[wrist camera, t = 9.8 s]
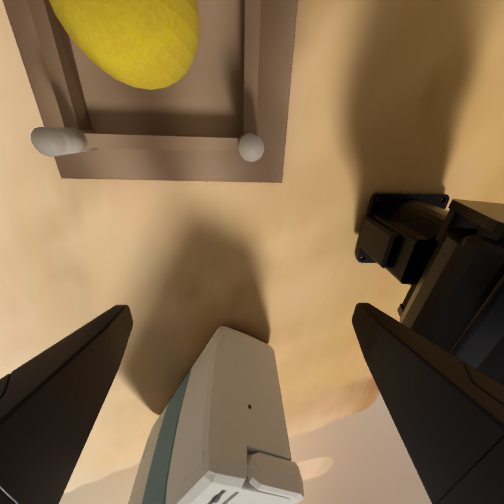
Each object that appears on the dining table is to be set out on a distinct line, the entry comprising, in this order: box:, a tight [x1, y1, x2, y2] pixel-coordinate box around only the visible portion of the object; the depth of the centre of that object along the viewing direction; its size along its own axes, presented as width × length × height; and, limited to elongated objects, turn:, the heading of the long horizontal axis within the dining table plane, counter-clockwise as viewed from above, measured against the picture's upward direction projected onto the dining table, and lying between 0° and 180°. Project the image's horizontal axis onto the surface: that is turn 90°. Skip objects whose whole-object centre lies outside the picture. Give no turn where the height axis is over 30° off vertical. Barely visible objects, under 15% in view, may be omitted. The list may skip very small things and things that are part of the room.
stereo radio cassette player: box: [128, 326, 304, 504], centre depth 21 cm, size 21×8×20 cm, turn 150°
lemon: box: [49, 0, 200, 90], centre depth 10 cm, size 6×6×8 cm
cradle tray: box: [3, 0, 298, 183], centre depth 12 cm, size 16×16×5 cm
